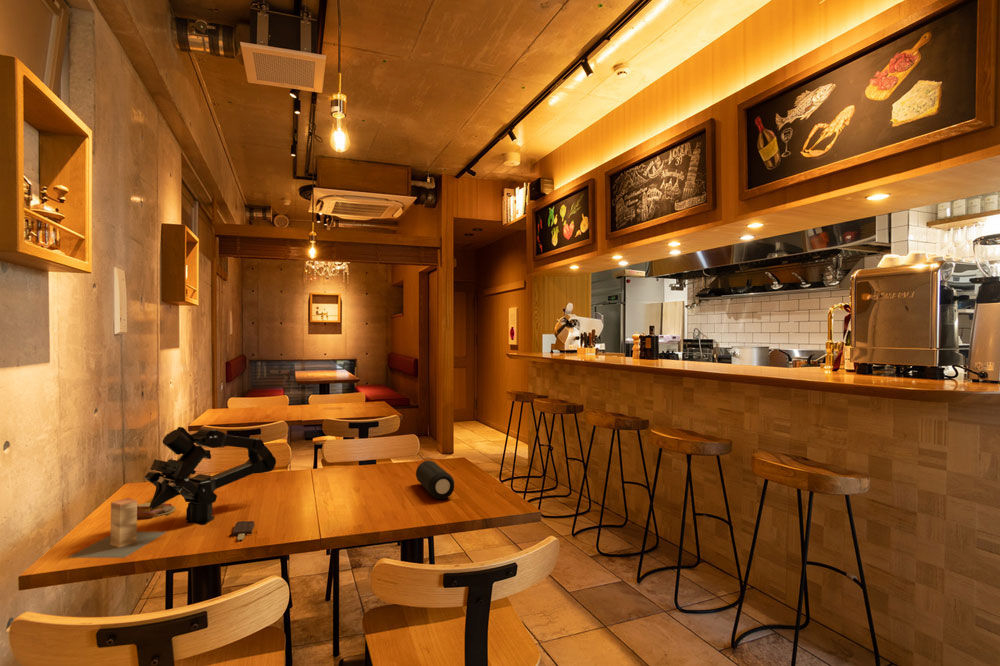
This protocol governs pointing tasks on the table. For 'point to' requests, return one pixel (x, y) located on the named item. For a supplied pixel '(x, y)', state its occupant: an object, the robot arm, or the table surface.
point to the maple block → (123, 522)
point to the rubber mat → (109, 551)
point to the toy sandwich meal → (153, 510)
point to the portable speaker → (435, 479)
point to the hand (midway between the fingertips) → (151, 508)
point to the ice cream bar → (243, 529)
